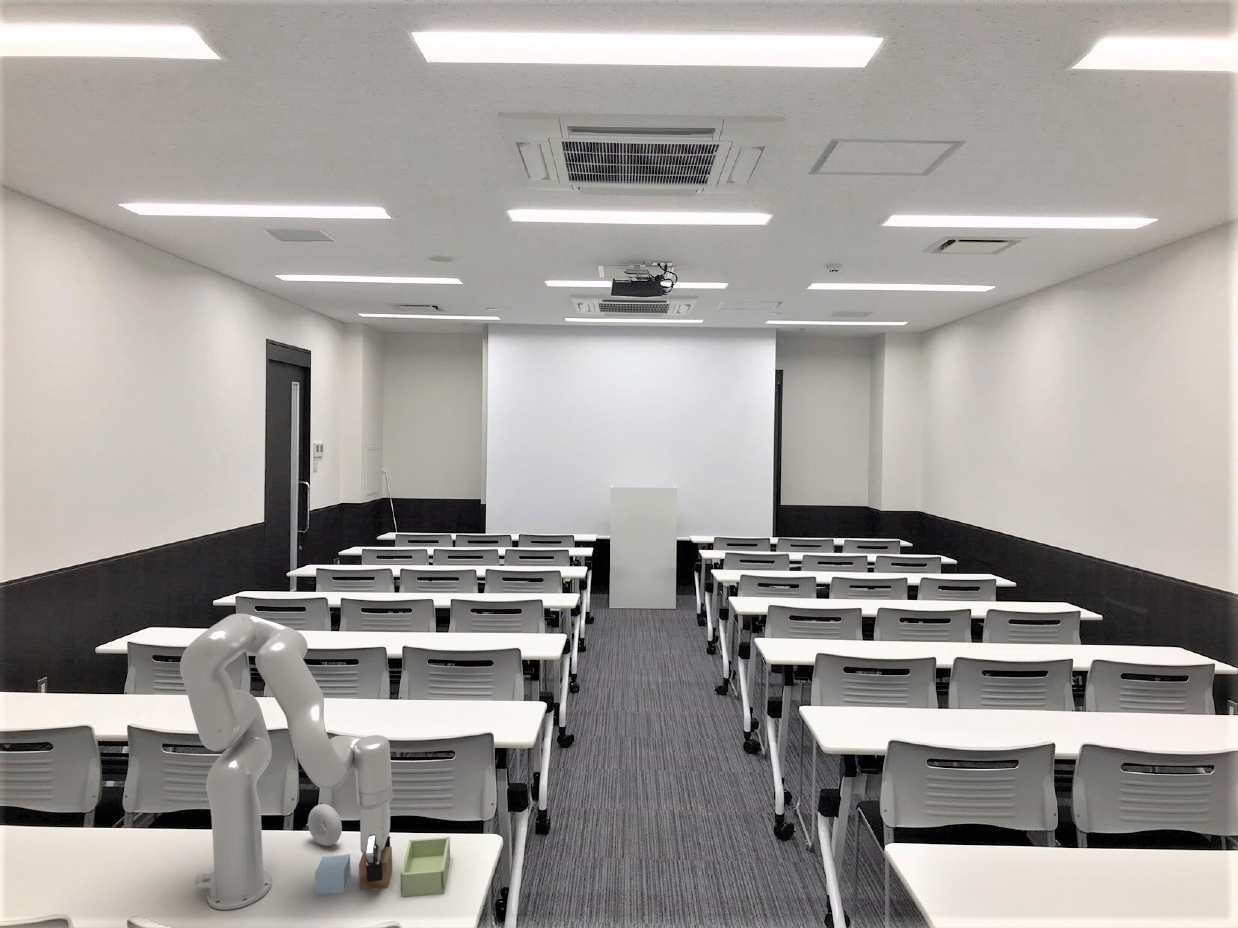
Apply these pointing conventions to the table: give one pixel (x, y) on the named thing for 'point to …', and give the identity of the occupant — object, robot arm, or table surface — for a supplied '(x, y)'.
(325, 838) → the donut
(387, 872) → the walnut block
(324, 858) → the blue carton
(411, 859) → the box
